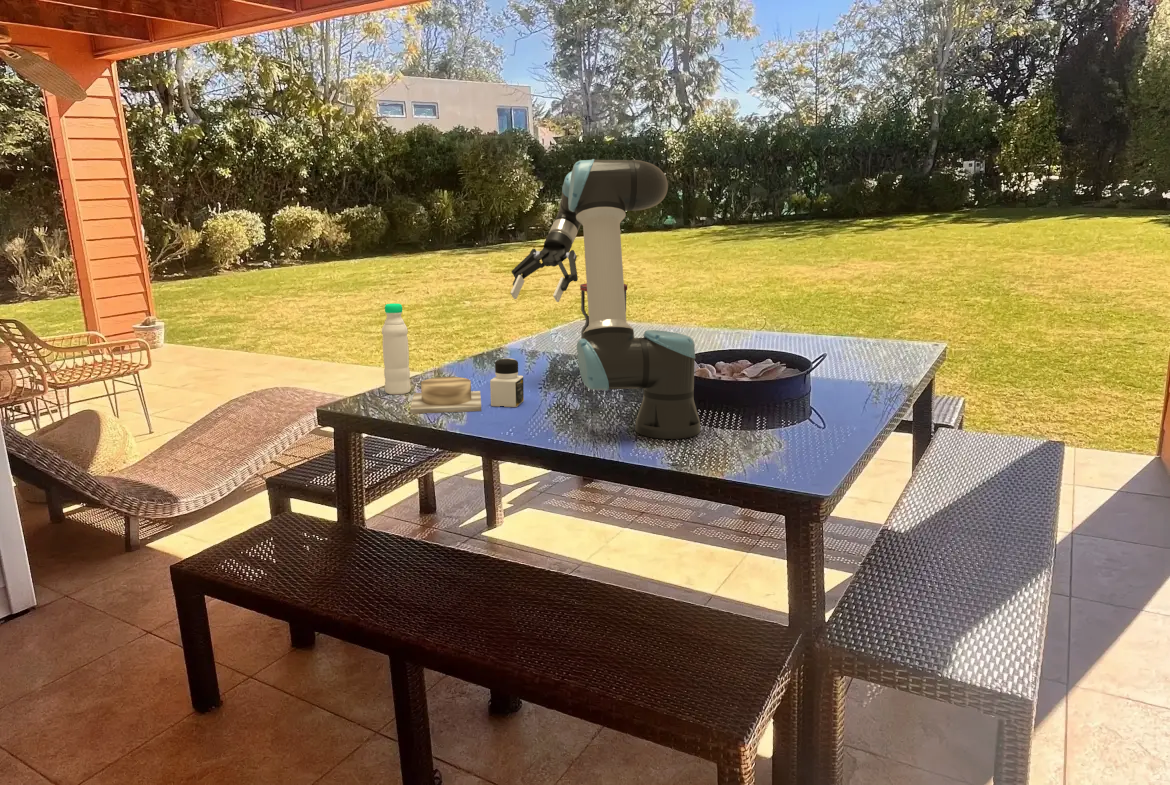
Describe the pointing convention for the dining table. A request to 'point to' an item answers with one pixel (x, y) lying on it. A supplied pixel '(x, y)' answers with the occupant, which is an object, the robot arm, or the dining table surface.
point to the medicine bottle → (506, 384)
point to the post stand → (446, 396)
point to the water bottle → (395, 351)
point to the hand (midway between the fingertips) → (534, 297)
